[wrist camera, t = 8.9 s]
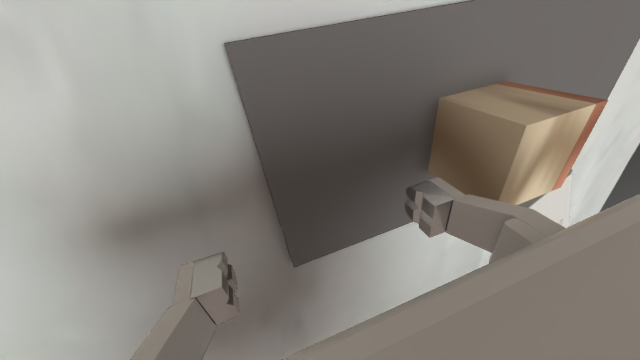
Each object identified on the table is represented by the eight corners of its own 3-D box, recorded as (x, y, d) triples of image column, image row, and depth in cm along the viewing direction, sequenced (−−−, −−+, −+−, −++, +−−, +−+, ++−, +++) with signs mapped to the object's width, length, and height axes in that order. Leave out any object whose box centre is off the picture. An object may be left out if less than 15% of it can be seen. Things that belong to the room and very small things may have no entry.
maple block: (428, 170, 17) (484, 151, 18) (493, 214, 13) (561, 187, 14) (439, 98, 14) (505, 81, 15) (526, 125, 10) (608, 100, 11)
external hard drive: (556, 163, 25) (558, 218, 32) (491, 216, 26) (507, 258, 33) (575, 170, 23) (572, 226, 31) (506, 226, 24) (519, 267, 32)
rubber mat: (568, 156, 24) (575, 158, 23) (291, 261, 18) (293, 267, 17) (664, -33, 16) (678, -35, 15) (224, 43, 10) (224, 43, 9)
